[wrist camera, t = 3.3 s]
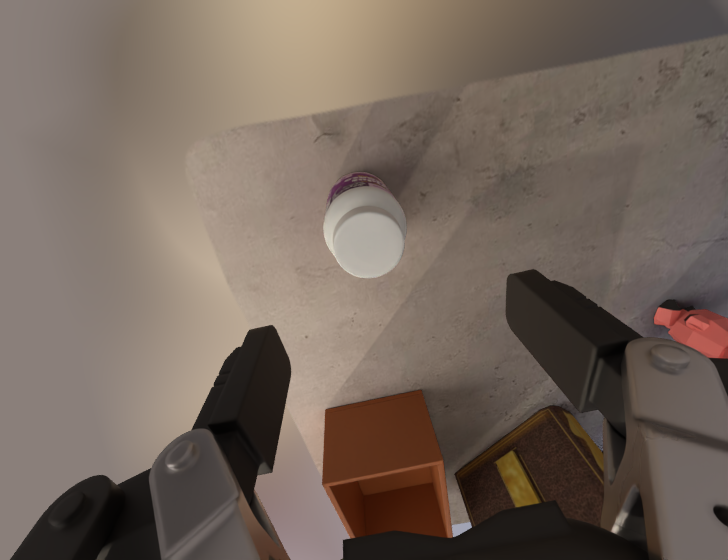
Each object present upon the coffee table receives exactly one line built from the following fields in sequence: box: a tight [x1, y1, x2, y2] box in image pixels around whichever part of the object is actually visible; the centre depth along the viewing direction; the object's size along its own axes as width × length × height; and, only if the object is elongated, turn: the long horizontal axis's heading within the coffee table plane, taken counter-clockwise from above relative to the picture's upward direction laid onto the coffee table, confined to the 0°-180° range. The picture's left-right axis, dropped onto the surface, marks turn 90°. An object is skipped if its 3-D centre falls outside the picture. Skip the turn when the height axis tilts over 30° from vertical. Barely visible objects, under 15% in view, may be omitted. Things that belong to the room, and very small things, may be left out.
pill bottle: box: [323, 172, 407, 278], centre depth 20 cm, size 5×5×10 cm
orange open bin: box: [322, 390, 453, 538], centre depth 38 cm, size 21×12×9 cm, turn 12°
